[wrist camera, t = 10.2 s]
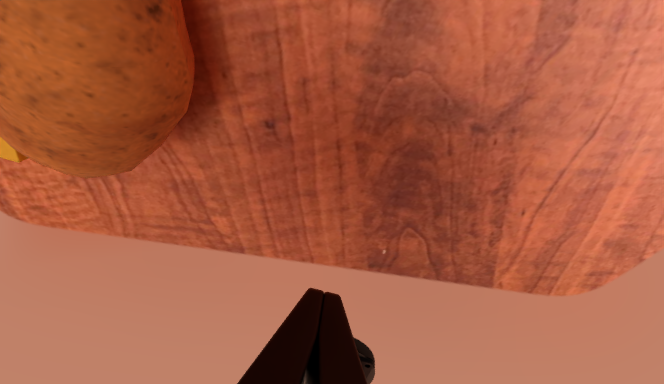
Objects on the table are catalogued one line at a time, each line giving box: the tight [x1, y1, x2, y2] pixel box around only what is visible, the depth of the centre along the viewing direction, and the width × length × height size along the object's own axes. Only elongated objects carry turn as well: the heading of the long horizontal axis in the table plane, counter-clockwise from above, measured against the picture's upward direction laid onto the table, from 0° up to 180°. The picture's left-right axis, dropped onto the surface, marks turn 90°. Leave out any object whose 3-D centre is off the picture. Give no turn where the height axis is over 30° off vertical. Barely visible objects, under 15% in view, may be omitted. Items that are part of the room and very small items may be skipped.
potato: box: [0, 0, 195, 178], centre depth 14 cm, size 9×11×8 cm
